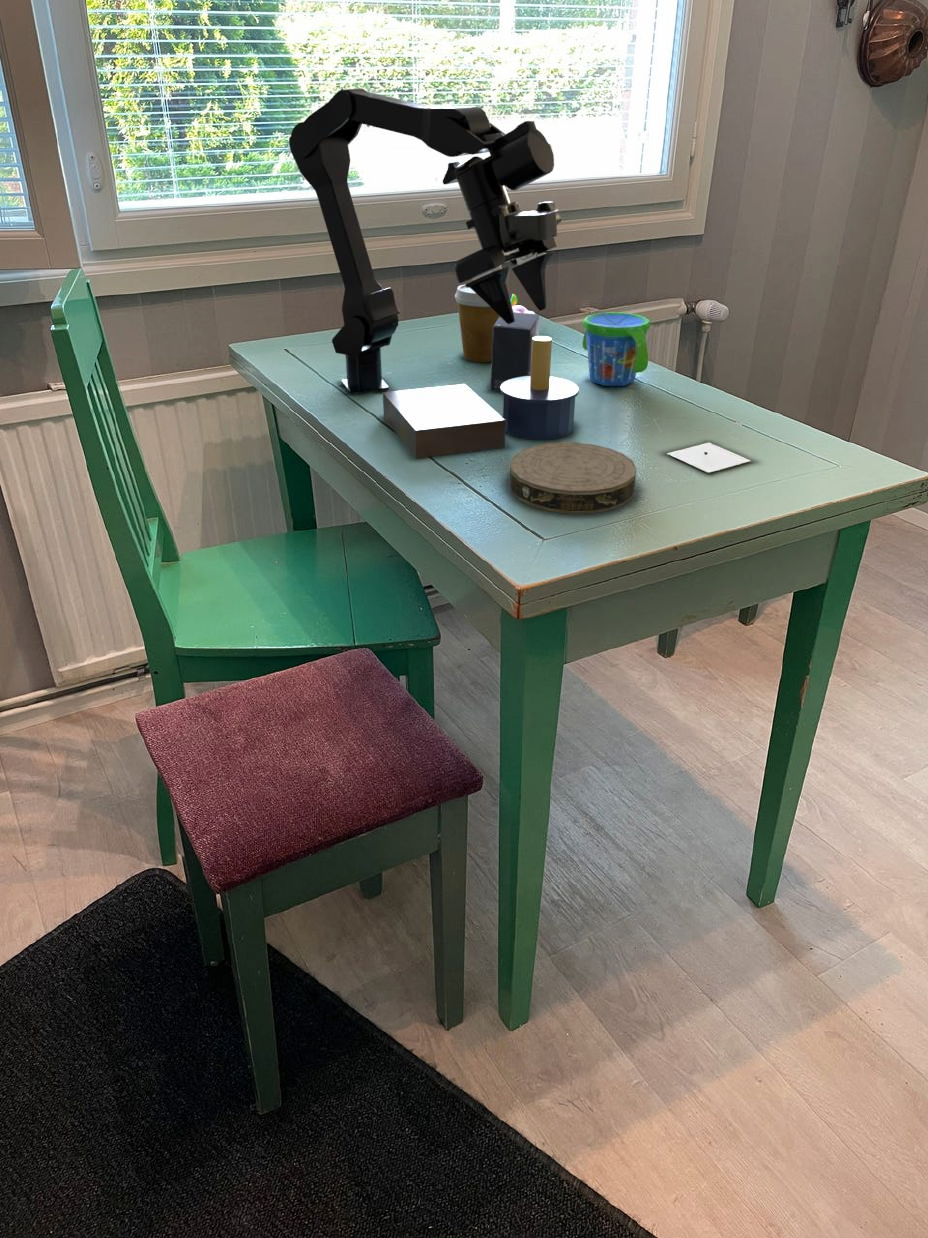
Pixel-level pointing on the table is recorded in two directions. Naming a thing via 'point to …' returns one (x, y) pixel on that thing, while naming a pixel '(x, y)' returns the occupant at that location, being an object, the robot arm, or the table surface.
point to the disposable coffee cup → (475, 325)
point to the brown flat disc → (572, 477)
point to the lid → (540, 379)
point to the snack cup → (615, 347)
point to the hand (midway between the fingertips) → (527, 316)
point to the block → (443, 420)
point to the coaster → (708, 457)
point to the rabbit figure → (518, 306)
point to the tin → (538, 419)
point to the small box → (512, 348)
